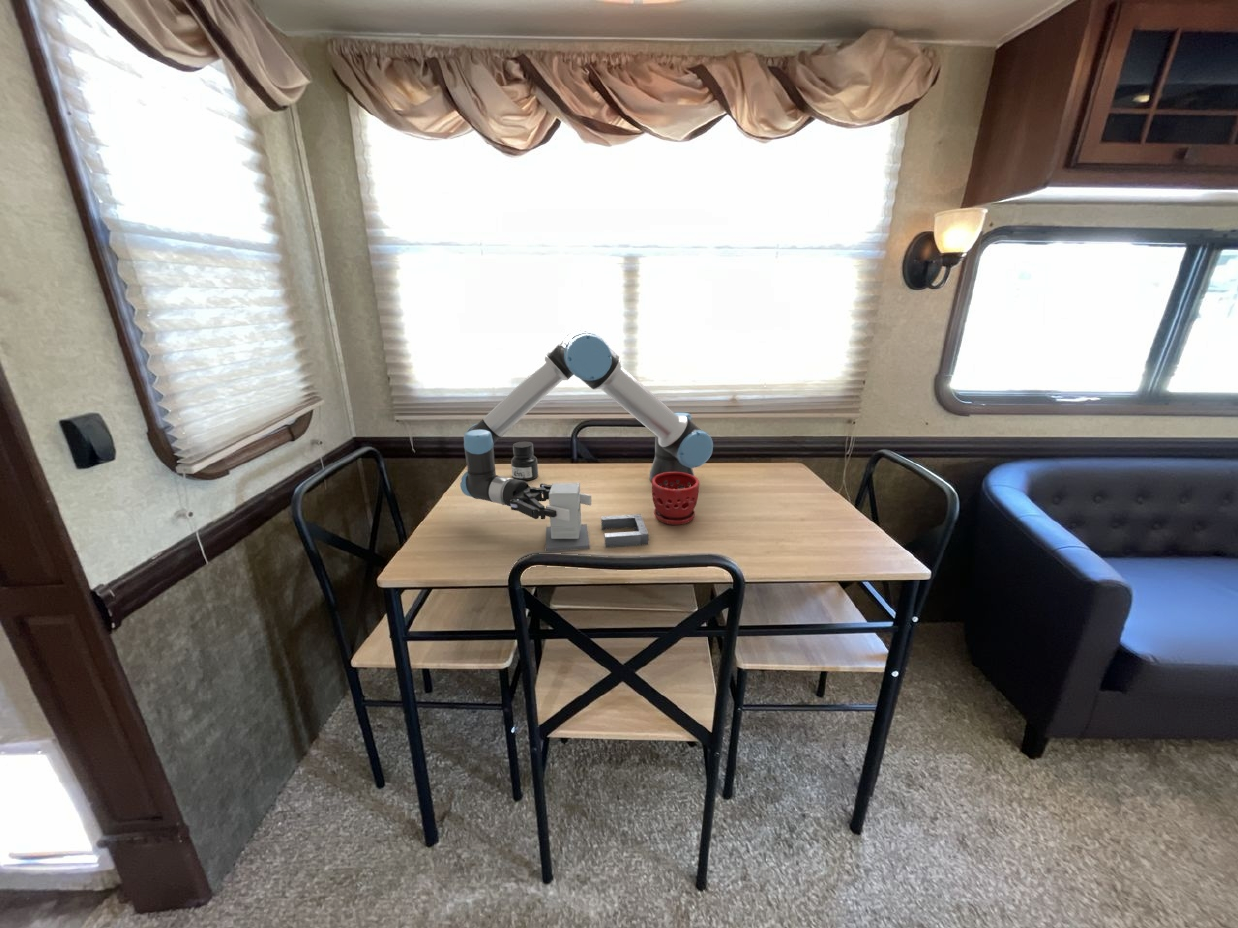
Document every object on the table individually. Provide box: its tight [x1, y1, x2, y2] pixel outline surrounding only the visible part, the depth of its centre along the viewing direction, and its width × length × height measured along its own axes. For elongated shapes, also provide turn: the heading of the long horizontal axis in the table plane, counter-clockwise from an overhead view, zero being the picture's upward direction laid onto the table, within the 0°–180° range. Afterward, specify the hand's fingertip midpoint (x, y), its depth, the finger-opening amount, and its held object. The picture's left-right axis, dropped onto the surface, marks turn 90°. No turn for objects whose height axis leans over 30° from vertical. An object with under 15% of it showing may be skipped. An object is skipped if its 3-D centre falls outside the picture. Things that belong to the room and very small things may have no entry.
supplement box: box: [548, 482, 582, 539], centre depth 126 cm, size 7×7×13 cm
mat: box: [545, 523, 591, 553], centre depth 129 cm, size 11×12×1 cm
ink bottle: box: [510, 441, 539, 482], centre depth 171 cm, size 10×9×12 cm
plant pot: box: [651, 472, 700, 526], centre depth 138 cm, size 13×13×12 cm
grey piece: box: [600, 513, 649, 549], centre depth 130 cm, size 11×12×3 cm
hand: (580, 507), depth 124 cm, fingers closed on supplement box, 9 cm apart
